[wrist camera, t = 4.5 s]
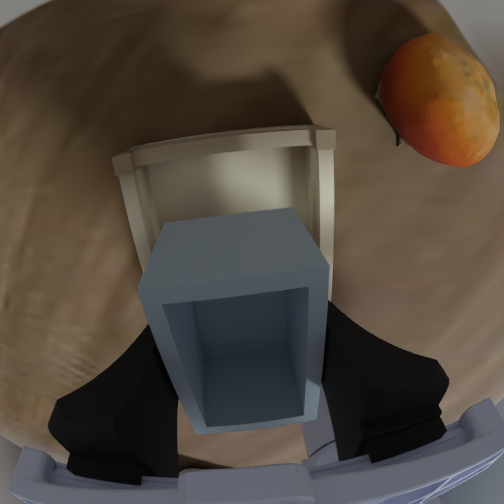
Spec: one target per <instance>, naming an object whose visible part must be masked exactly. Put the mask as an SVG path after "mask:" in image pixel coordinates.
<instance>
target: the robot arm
mask: <svg viewBox="0 0 504 504" xmlns="http://www.w3.org/2000/svg"><path fill="white" fill-rule="evenodd" d="M448 385H449V378H448V376H447V375H446V373H445V371H444V370H443V368H442V367H441V365H440V364H439V363H438V361H437V360H435V359H432V358H428V357H424V356H421V355H417V354H414V353H411V352H409V351H406V350H403V349H401V348H398V347H396V346H394V345H392V344H390V343H388V342H386V341H384V340H382V339H380V338H378V337H376V336H375V335H373V334H371V333H370V332H368V331H366V330H365V329H363V328H362V327H360V326H359V325H358V324H356V323H355V322H354V321H352V320H351V319H350V318H348V317H347V316H346V315H345V314H344V313H343V312H341V311H340V310H339V309H338V308H337V307H336V306H335V305H333V304H332V303H331V302H330V301H329V300H328V308H327V323H326V336H325V348H324V359H323V369H322V378H321V387H320V396H319V404H318V412H317V419H316V420H312V421H307V422H301V427H302V432H303V436H304V441H305V446H306V450H307V455H308V459H305V460H303V461H302V465H299V464H294V463H286V464H272V465H264V466H254V467H243V468H228V469H202V470H193V471H188V472H186V473H184V474H182V475H180V476H179V467H178V449H177V409H178V399H179V397H178V395H177V393H176V390H175V388H174V386H173V383H172V381H171V379H170V376H169V374H168V372H167V369H166V367H165V365H164V362H163V360H162V357H161V355H160V352H159V350H158V347H157V344H156V342H155V339H154V337H153V334H152V331H151V329H150V326H149V324H148V325H147V326H146V328H145V329H144V330H143V331H142V333H141V334H140V335H139V336H138V338H137V339H136V340H135V341H134V342H133V343H132V345H131V346H130V347H129V348H128V349H127V350H126V351H125V352H124V353H123V354H122V355H121V356H120V357H119V358H118V359H117V360H116V361H115V362H114V363H113V364H112V365H111V366H109V367H108V368H107V369H106V370H104V371H103V372H102V373H101V374H99V375H98V376H97V377H95V378H94V379H93V380H91V381H90V382H88V383H87V384H85V385H84V386H82V387H80V388H79V389H77V390H75V391H73V392H71V393H70V394H68V395H66V396H64V397H62V398H60V399H58V400H57V402H56V404H55V407H54V409H53V412H52V414H51V417H50V420H49V422H48V429H49V431H50V433H51V434H52V436H53V437H54V438H55V439H56V440H57V441H58V442H59V443H60V444H61V445H62V446H63V447H64V448H65V449H66V450H67V451H68V452H69V453H70V455H69V459H68V463H67V464H63V463H59V462H55V460H54V459H53V458H52V457H51V456H49V455H48V454H46V453H45V452H42V451H40V450H36V449H32V448H29V447H25V446H24V447H23V448H22V451H21V455H20V457H19V460H18V463H17V466H16V470H15V473H14V476H13V480H12V483H11V486H10V490H9V491H10V493H12V494H13V495H15V496H16V497H18V498H20V499H21V500H23V501H24V502H26V503H27V504H440V501H439V498H438V496H439V495H441V494H442V493H444V492H446V491H448V490H450V489H452V488H454V487H456V486H457V485H459V484H461V483H463V482H464V481H466V480H468V479H470V478H471V477H473V476H475V475H477V474H478V473H480V472H481V471H483V470H485V469H486V468H487V467H488V466H490V465H491V464H492V463H493V462H494V461H495V460H496V459H497V458H498V457H499V456H500V455H501V454H502V453H504V420H503V418H502V417H501V415H500V413H499V412H498V410H497V409H496V407H495V405H494V404H493V402H492V401H491V399H490V398H487V399H485V400H483V401H481V402H479V403H477V404H475V405H473V406H471V407H469V408H468V409H467V410H466V411H465V412H464V413H463V414H462V415H461V417H460V419H459V420H458V421H456V422H454V423H452V424H450V425H447V426H445V425H444V423H443V422H442V420H441V418H440V415H441V414H442V411H441V409H440V407H439V403H440V401H441V400H442V398H443V396H444V394H445V393H446V391H447V388H448Z"/></svg>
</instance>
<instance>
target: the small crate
mask: <svg viewBox="0 0 504 504" xmlns="http://www.w3.org/2000/svg"><path fill="white" fill-rule="evenodd" d="M329 269H330V265H329V264H328V262H327V260H326V259H325V257H324V256H323V254H322V252H321V251H320V249H319V248H318V246H317V245H316V243H315V241H314V240H313V238H312V237H311V235H310V234H309V232H308V230H307V229H306V227H305V226H304V224H303V223H302V221H301V220H300V218H299V217H298V215H297V214H296V212H295V211H294V209H293V208H292V207H289V208H280V209H271V210H262V211H253V212H245V213H236V214H228V215H220V216H212V217H205V218H197V219H190V220H182V221H175V222H168V223H164V225H163V227H162V230H161V232H160V234H159V236H158V239H157V241H156V243H155V246H154V248H153V250H152V253H151V255H150V258H149V260H148V262H147V265H146V267H145V270H144V272H143V275H142V277H141V280H140V282H139V285H138V287H137V291H138V294H139V297H140V300H141V303H142V306H143V309H144V312H145V315H146V317H147V320H148V323H149V326H150V329H151V331H152V334H153V337H154V339H155V342H156V344H157V347H158V350H159V352H160V355H161V357H162V360H163V362H164V365H165V367H166V369H167V372H168V374H169V376H170V379H171V381H172V383H173V386H174V388H175V390H176V393H177V395H178V397H179V399H180V401H181V404H182V406H183V408H184V410H185V412H186V414H187V417H188V419H189V421H190V423H191V425H192V427H193V429H194V431H195V433H196V434H210V433H224V432H236V431H246V430H255V429H263V428H270V427H277V426H283V425H290V424H296V423H301V422H307V421H312V420H316V419H317V412H318V404H319V396H320V387H321V378H322V369H323V359H324V348H325V336H326V323H327V308H328V291H329Z"/></svg>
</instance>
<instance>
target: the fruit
mask: <svg viewBox="0 0 504 504" xmlns="http://www.w3.org/2000/svg"><path fill="white" fill-rule="evenodd" d="M372 98H375V99H377V100H378V101H379V103H380V104H381V106H382V108H383V110H384V111H385V114H386V116H387V118H388V120H389V122H390V123H391V125H392V126H393V127H394V129H395V130H396V131H397V132H398V133H399V135H400V137H401V143H400V144H399V146H398V147H397V148H399V147H400V146H401V145H402V144H404V143H406V144H408V145H410V146H411V147H412V148H414V149H415V150H416V151H417V152H418V153H420V154H421V155H423V156H425V157H427V158H429V159H431V160H433V161H436V162H439V163H442V164H446V165H450V166H455V167H467V166H469V165H472V164H474V163H476V162H479V161H480V160H482V159H483V158H484V157H485V155H486V154H488V153H489V152H490V150H491V148H492V147H493V145H494V142H495V141H496V139H497V136H498V132H499V127H500V126H499V117H500V115H499V110H498V107H497V101H496V96H495V90H494V86H493V83H492V81H491V79H490V77H489V75H488V74H487V72H486V70H485V68H484V66H483V65H482V64H481V63H480V62H479V61H478V60H476V59H475V58H474V57H473V56H472V55H471V54H470V53H468V52H467V51H466V50H465V49H464V48H462V47H461V46H460V45H458V44H457V43H456V42H455V41H453V40H452V39H451V38H449V37H447V36H445V35H442V34H439V33H435V32H431V33H429V34H426V35H423V36H419V37H416V38H414V39H412V40H410V41H408V42H406V43H405V44H404V45H402V46H401V47H400V48H399V49H398V50H397V51H396V52H395V53H394V54H393V56H392V57H391V59H390V60H389V62H388V63H387V64H386V66H385V67H384V69H383V71H382V74H381V76H380V81H379V86H378V90H377V92H376V94H375V96H374V97H372Z"/></svg>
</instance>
